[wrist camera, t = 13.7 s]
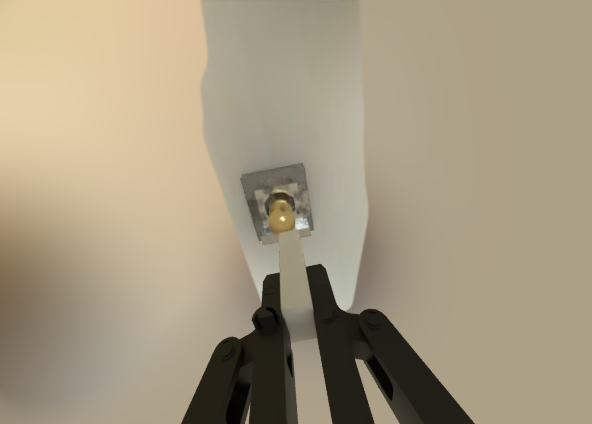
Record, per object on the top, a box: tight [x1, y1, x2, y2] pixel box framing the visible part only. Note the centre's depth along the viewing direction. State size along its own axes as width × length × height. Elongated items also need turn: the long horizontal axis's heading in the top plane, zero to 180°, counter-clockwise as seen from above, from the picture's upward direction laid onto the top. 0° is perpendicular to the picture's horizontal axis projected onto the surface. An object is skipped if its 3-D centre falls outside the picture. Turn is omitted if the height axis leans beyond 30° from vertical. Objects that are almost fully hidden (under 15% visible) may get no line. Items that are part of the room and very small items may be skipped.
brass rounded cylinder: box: [269, 192, 295, 235], centre depth 39 cm, size 4×4×10 cm
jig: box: [241, 163, 314, 245], centre depth 42 cm, size 14×12×5 cm
